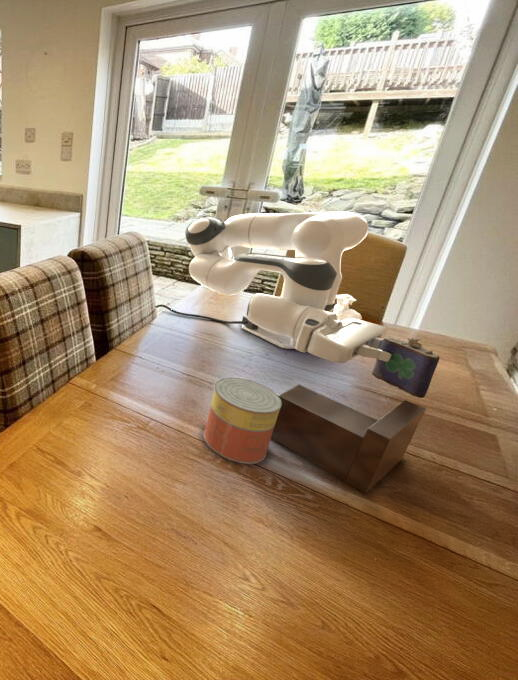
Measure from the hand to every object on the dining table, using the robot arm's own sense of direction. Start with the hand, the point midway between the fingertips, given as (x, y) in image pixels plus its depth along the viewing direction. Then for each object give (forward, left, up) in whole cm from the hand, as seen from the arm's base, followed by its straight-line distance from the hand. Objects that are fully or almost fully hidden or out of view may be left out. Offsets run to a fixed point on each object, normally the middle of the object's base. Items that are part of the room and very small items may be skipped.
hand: (395, 355), depth 80 cm
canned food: (-11, -31, -17) cm, 37 cm away
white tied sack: (-28, +54, -17) cm, 63 cm away
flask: (+2, 0, -6) cm, 6 cm away
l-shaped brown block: (0, -16, -17) cm, 23 cm away
